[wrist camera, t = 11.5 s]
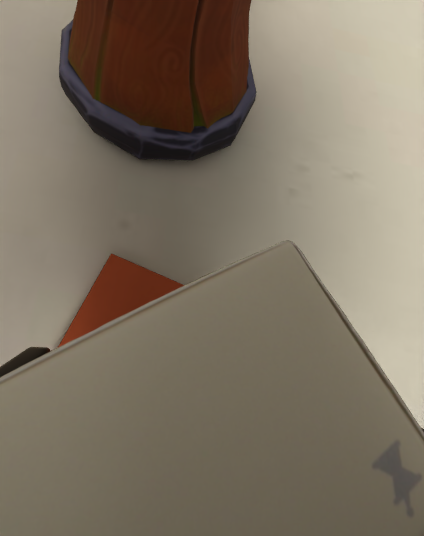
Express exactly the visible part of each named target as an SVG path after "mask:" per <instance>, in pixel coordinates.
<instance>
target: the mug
mask: <svg viewBox="0 0 424 536" xmlns="http://www.w3.org/2000/svg"><path fill="white" fill-rule="evenodd" d="M250 5H251V0H78V2H77V7H76V11H75V14H74V19H73V20H72V21H71V22H70V23H69V24H68V25H67V26H66V27H65V28H64V29H63V30H62V35H61V50H60V65H59V78H60V82H61V86H62V88H63V90H64V92H65V94H66V95H67V97H68V98H69V99H70V101H71V102H72V103H73V105H74V106H75V107H76V109H77V110H78V111H79V113H80V114H81V115H82V117H83V118H84V119H85V120H86V122H87V123H88V124H89V126H90V127H91V128H92V130H93V131H94V132H95V133H97V134H98V135H100V136H102V137H103V138H105V139H107V140H108V141H110V142H112V143H114V144H115V145H117V146H119V147H120V148H122V149H124V150H125V151H127V152H129V153H130V154H132V155H134V156H136V157H137V158H139V159H165V160H195V159H197V158H200V157H202V156H205V155H207V154H210V153H212V152H215V151H217V150H220V149H222V148H225V147H227V146H230V145H231V144H232V142H233V140H234V139H235V137H236V135H237V133H238V131H239V129H240V128H241V126H242V124H243V122H244V120H245V118H246V116H247V114H248V113H249V111H250V109H251V107H252V105H253V103H254V101H255V97H256V88H255V84H254V79H253V74H252V70H251V65H250V60H249V47H248V34H249V10H250Z"/></svg>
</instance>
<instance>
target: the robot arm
mask: <svg viewBox="0 0 424 536" xmlns="http://www.w3.org/2000/svg"><path fill="white" fill-rule="evenodd" d="M48 352H50V349H49V348H46V347H30V348H28V349H26V350H25V351H23V352H22V353H20V354H19V355H17V356H16V357H14V358H13V359H11V360H10V361H8V362H7V363H5V364H4V365H3V366H1V367H0V377H2V376H4V375H6V374H8V373H10V372H11V371H13V370H15V369H17V368H19V367H21V366H23V365H25V364H27V363H29V362H31V361H33V360H35V359H37V358H39V357H41V356H43V355H44V354H46V353H48ZM421 429H422V431H423V432H424V429H423V428H421Z"/></svg>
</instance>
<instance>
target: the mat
mask: <svg viewBox="0 0 424 536" xmlns="http://www.w3.org/2000/svg"><path fill="white" fill-rule="evenodd" d="M182 286H185V285H182V284H180V283H178V282H176V281H173V280H171V279H169V278H166V277H164V276H162V275H159V274H157V273H155V272H153V271H150V270H148V269H146V268H143V267H141V266H139V265H137V264H134V263H132V262H130V261H127V260H125V259H123V258H121V257H118V256H116V255H114V254H111V255H110V257H109V258H108V260H107V262H106V264H105V265H104V267H103V269H102V271H101V272H100V274H99V276H98V278H97V280H96V281H95V283H94V285H93V287H92V288H91V290H90V292H89V294H88V295H87V297H86V299H85V301H84V302H83V304H82V306H81V308H80V309H79V311H78V313H77V315H76V316H75V318H74V320H73V322H72V323H71V325H70V327H69V329H68V331H67V332H66V334H65V336H64V338H63V339H62V341H61V343H60V345H59V346H58V347H60V346H62V345H64V344H66V343H68V342H70V341H72V340H74V339H77V338H79V337H81V336H83V335H85V334H87V333H89V332H91V331H93V330H95V329H97V328H99V327H101V326H102V325H104V324H106V323H108V322H110V321H112V320H114V319H116V318H118V317H120V316H122V315H124V314H126V313H129V312H131V311H133V310H135V309H137V308H139V307H141V306H143V305H145V304H147V303H149V302H151V301H153V300H155V299H158V298H160V297H162V296H164V295H166V294H168V293H170V292H172V291H174V290H176V289H178V288H180V287H182Z"/></svg>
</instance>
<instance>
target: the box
mask: <svg viewBox="0 0 424 536" xmlns="http://www.w3.org/2000/svg"><path fill="white" fill-rule="evenodd" d="M0 536H424V432H423V431H422V429H421V427H420V426H419V424H418V423H417V421H416V420H415V418H414V417H413V415H412V414H411V412H410V411H409V409H408V408H407V406H406V404H405V403H404V401H403V400H402V398H401V397H400V395H399V394H398V392H397V391H396V389H395V388H394V386H393V385H392V384H391V382H390V381H389V379H388V378H387V376H386V375H385V373H384V372H383V370H382V369H381V367H380V366H379V364H378V363H377V361H376V360H375V358H374V357H373V355H372V354H371V352H370V350H369V349H368V347H367V346H366V344H365V343H364V341H363V340H362V339H361V337H360V336H359V335H358V333H357V332H356V331H355V329H354V328H353V326H352V325H351V323H350V321H349V320H348V318H347V317H346V315H345V314H344V312H343V311H342V310H341V308H340V307H339V305H338V304H337V302H336V301H335V300H334V298H333V297H332V296H331V294H330V293H329V291H328V290H327V289H326V287H325V286H324V285H323V283H322V282H321V280H320V279H319V277H318V276H317V274H316V273H315V271H314V270H313V268H312V267H311V265H310V264H309V262H308V261H307V259H306V258H305V256H304V254H303V253H302V251H301V250H300V249H299V248H298V247H297V246H296V245H295V244H294V243H293V242H291V241H283V242H280V243H278V244H275V245H273V246H271V247H269V248H266V249H264V250H262V251H260V252H257V253H255V254H253V255H250V256H248V257H246V258H244V259H241V260H239V261H237V262H234V263H232V264H230V265H228V266H225V267H223V268H221V269H219V270H217V271H214V272H212V273H210V274H208V275H206V276H204V277H202V278H200V279H198V280H195V281H193V282H191V283H189V284H187V285H185V286H182V287H180V288H178V289H176V290H174V291H172V292H170V293H168V294H166V295H164V296H162V297H160V298H158V299H155V300H153V301H151V302H149V303H147V304H145V305H143V306H141V307H139V308H137V309H135V310H133V311H131V312H129V313H126V314H124V315H122V316H120V317H118V318H116V319H114V320H112V321H110V322H108V323H106V324H104V325H102V326H101V327H99V328H97V329H95V330H93V331H91V332H89V333H87V334H85V335H83V336H81V337H79V338H77V339H74V340H72V341H70V342H68V343H66V344H64V345H62V346H60V347H58V348H56V349H54V350H52V351H50V352H48V353H46V354H44V355H43V356H41V357H39V358H37V359H35V360H33V361H31V362H29V363H27V364H25V365H23V366H21V367H19V368H17V369H15V370H13V371H11V372H10V373H8V374H6V375H4V376H2V377H0Z"/></svg>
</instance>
